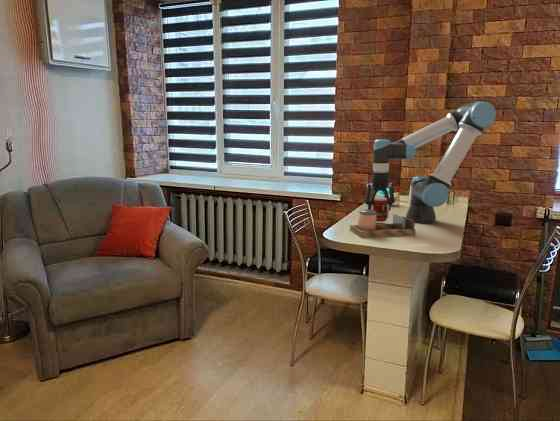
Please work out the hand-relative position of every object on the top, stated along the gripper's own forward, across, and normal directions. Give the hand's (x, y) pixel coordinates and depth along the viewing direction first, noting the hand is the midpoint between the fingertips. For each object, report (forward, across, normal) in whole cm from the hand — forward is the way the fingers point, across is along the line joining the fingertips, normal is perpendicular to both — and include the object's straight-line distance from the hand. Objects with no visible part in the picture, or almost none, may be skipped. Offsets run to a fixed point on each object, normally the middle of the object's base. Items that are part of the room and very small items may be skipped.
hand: (378, 217), depth 215 cm
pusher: (+3, -3, +18) cm, 18 cm away
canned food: (+1, 0, 0) cm, 1 cm away
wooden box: (+4, +7, +18) cm, 19 cm away
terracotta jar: (+3, +14, +18) cm, 23 cm away
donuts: (+5, -29, -56) cm, 64 cm away
